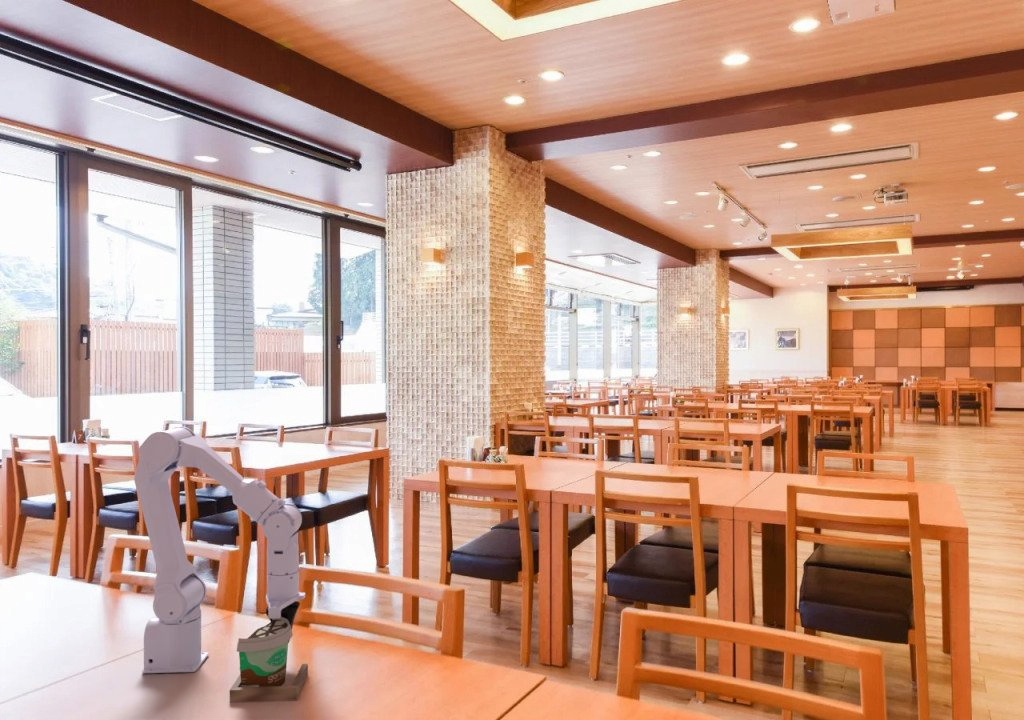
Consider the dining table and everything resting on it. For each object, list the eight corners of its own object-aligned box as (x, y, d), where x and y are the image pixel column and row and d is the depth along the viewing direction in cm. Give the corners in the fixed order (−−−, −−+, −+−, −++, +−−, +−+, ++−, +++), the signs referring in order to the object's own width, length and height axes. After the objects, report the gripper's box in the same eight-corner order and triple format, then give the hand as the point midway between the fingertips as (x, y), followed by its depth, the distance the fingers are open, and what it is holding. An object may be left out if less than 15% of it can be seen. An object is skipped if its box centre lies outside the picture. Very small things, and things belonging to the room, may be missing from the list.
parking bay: (229, 702, 127) (229, 690, 127) (245, 676, 137) (245, 665, 137) (296, 700, 128) (296, 688, 128) (307, 674, 138) (307, 663, 138)
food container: (269, 702, 127) (269, 642, 127) (236, 698, 128) (236, 639, 128) (305, 671, 139) (305, 617, 139) (274, 667, 141) (274, 614, 140)
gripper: (296, 582, 135) (297, 658, 135) (311, 559, 149) (311, 628, 150) (256, 583, 134) (256, 659, 135) (275, 560, 149) (275, 629, 149)
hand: (283, 643), depth 142 cm, fingers closed
